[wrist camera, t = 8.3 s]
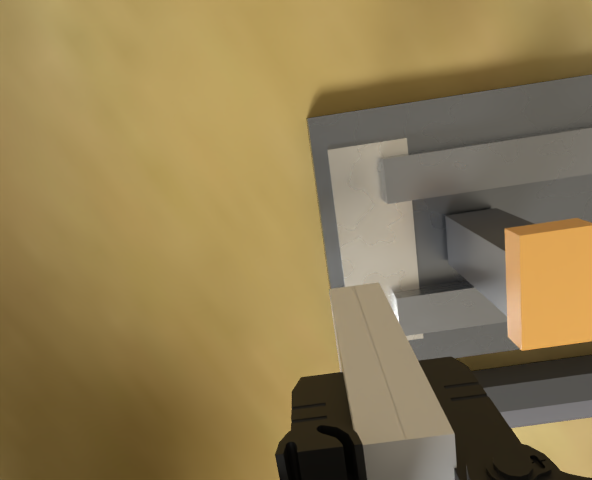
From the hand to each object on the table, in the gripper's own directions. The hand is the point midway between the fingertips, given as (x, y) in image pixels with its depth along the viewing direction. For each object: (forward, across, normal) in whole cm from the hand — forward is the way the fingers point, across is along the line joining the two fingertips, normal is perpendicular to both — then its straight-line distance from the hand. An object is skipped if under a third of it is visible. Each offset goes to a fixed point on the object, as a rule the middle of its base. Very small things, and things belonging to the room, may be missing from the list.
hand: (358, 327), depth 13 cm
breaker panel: (+10, +12, 0) cm, 16 cm away
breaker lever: (+8, +6, 0) cm, 10 cm away
